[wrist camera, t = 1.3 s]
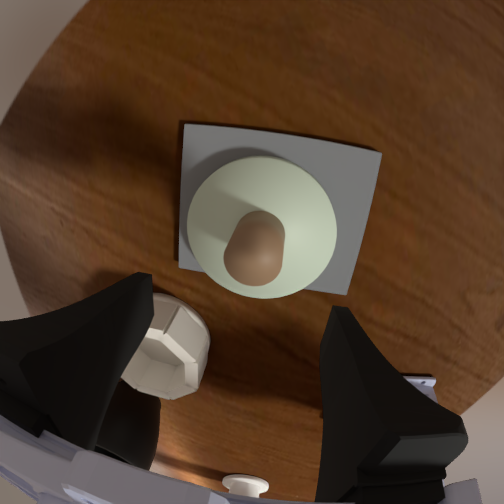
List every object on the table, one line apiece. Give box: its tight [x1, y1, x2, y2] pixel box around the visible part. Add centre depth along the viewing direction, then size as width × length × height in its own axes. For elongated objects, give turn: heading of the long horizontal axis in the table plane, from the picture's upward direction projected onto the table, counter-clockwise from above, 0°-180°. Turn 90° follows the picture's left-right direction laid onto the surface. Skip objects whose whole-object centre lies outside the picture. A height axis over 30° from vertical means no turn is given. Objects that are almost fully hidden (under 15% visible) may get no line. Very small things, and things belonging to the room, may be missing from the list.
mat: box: [179, 124, 382, 295], centre depth 20 cm, size 12×10×1 cm
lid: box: [187, 155, 337, 298], centre depth 18 cm, size 9×9×5 cm
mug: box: [94, 380, 161, 471], centre depth 28 cm, size 8×12×10 cm
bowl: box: [121, 293, 211, 400], centre depth 24 cm, size 8×8×4 cm
